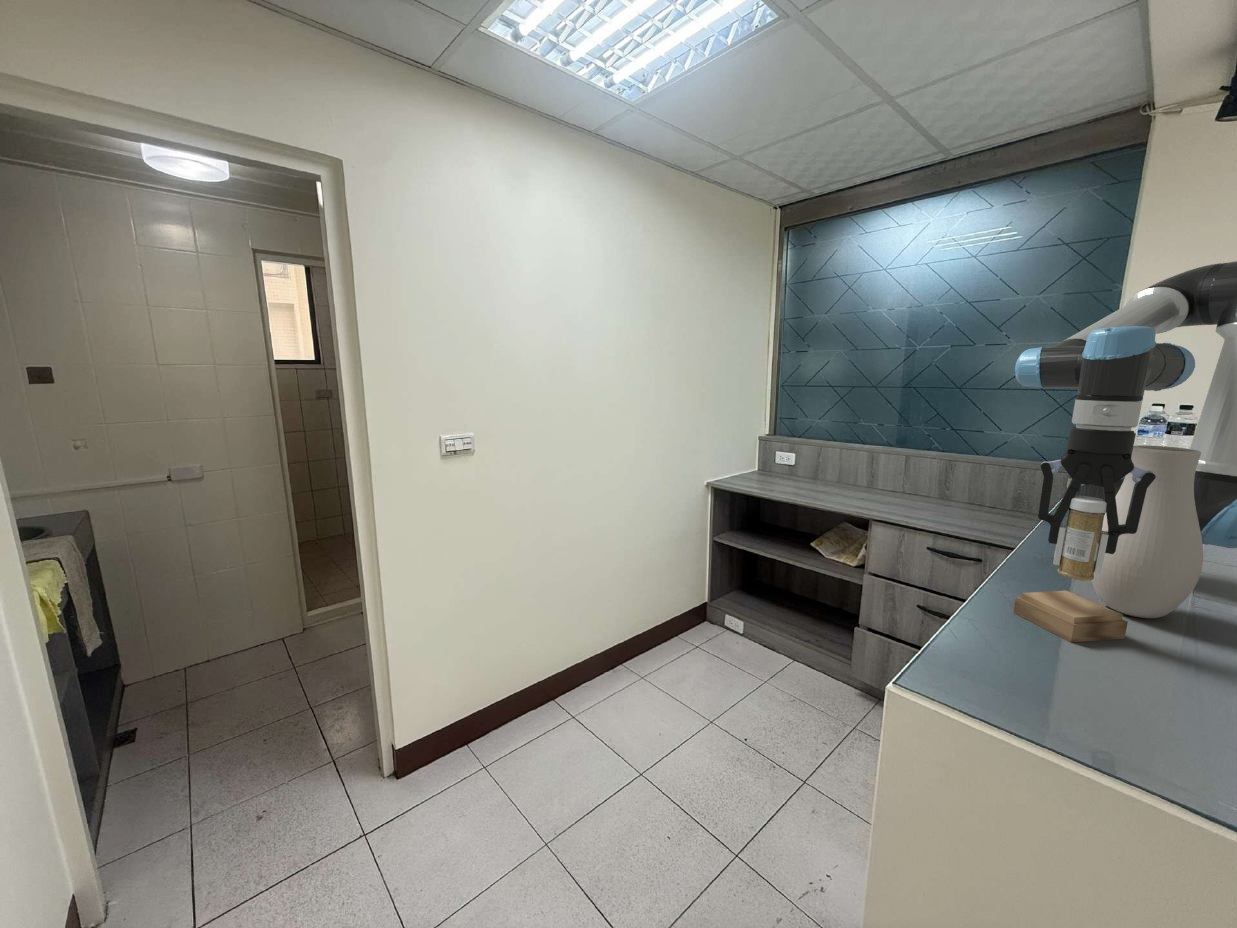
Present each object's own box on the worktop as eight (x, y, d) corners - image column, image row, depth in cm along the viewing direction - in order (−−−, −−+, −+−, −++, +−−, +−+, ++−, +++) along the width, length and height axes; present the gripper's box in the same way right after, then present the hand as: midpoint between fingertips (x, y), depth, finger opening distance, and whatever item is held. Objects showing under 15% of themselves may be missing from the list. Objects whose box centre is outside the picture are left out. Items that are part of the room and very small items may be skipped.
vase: (1188, 613, 88) (1226, 449, 83) (1188, 639, 79) (1231, 457, 74) (1084, 588, 98) (1112, 440, 93) (1074, 609, 89) (1104, 447, 84)
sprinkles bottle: (1100, 580, 80) (1116, 501, 78) (1079, 582, 79) (1094, 502, 77) (1069, 569, 84) (1083, 494, 82) (1049, 571, 83) (1062, 495, 81)
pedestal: (1061, 609, 89) (1065, 589, 88) (1124, 638, 79) (1129, 615, 79) (1013, 612, 88) (1016, 591, 87) (1070, 642, 78) (1075, 619, 77)
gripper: (1030, 425, 81) (1008, 559, 85) (1189, 434, 69) (1155, 589, 73) (1032, 422, 86) (1012, 548, 90) (1181, 430, 74) (1149, 574, 79)
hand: (1076, 566), depth 82 cm, fingers closed on sprinkles bottle, 4 cm apart
